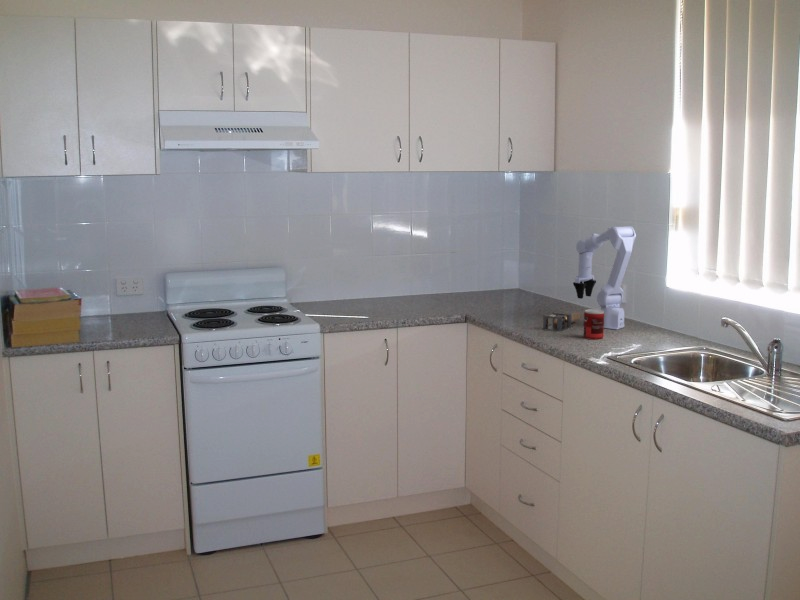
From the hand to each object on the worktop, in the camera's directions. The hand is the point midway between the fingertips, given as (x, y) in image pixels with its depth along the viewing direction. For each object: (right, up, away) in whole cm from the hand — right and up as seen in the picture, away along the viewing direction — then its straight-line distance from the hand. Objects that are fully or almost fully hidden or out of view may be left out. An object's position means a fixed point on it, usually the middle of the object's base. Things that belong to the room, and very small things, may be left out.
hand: (584, 297), depth 369 cm
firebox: (-15, -13, -16) cm, 26 cm away
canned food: (-4, -17, -36) cm, 40 cm away
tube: (-9, -12, -10) cm, 18 cm away
